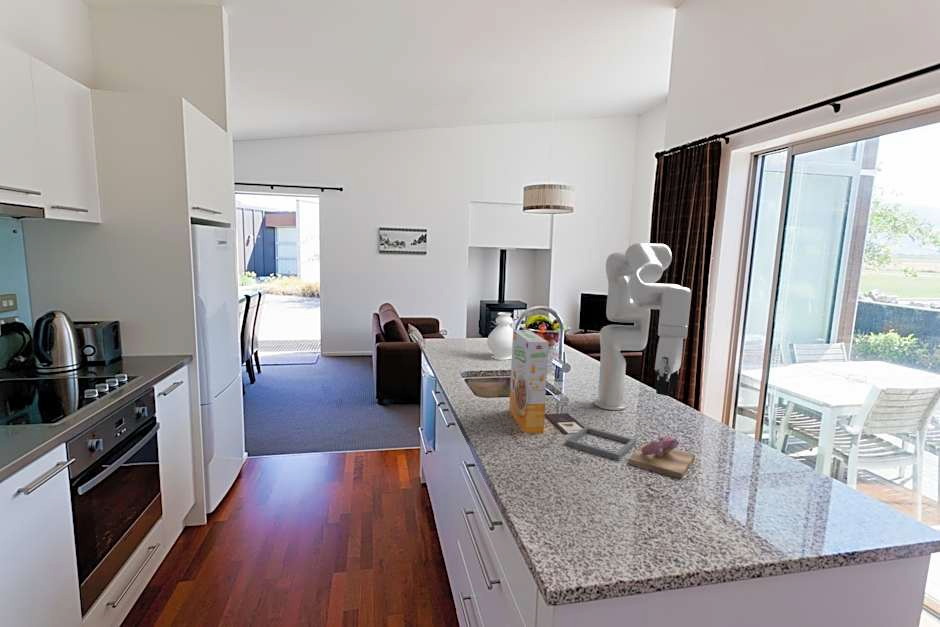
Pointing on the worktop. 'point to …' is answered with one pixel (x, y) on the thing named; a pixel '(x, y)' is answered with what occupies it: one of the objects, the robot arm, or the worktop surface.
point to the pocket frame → (596, 450)
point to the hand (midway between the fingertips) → (666, 390)
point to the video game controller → (660, 446)
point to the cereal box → (528, 380)
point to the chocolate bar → (565, 423)
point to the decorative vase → (501, 337)
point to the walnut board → (664, 461)
